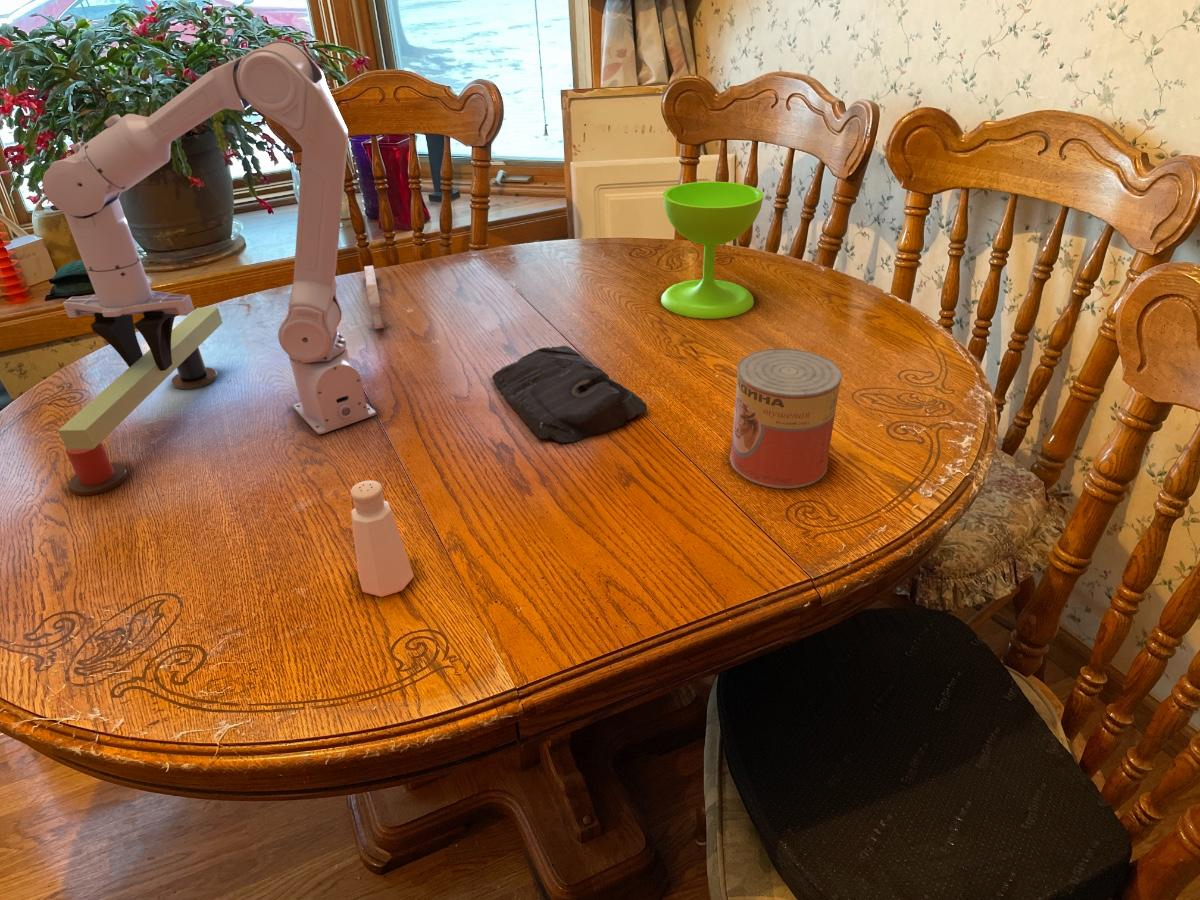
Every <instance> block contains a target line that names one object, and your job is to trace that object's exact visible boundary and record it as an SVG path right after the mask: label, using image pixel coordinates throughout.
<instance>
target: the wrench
mask: <svg viewBox="0 0 1200 900" xmlns="http://www.w3.org/2000/svg"><path fill="white" fill-rule="evenodd" d="M363 268H364V276H365V289H366V293H367V294H366V295H367V300H368V306H369V309H370V313H371V318H372V323H373V328H374V330H377V329H384V328H386V327H385V321H384V316H383V312H382V302H381V299H380V294H379V289H378V284H377V279H376V274H375V269H374V268H375V267H374V265H365V266H363Z"/></svg>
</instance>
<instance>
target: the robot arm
mask: <svg viewBox="0 0 1200 900" xmlns="http://www.w3.org/2000/svg"><path fill="white" fill-rule="evenodd" d="M250 107H252V108H253V109H255V110H256V111H258V112H259V113H260V114H262V115H264V116H265V117H267V118H269V119H270V120H272V121H273V122H275V123H277V124H278V125H280V126H282V128H283V129H284V130H285V131H286V132H287V133H288V134H289V135H290V136H291V137H292V138H293V139H294V140H295V142H296V143H297V144H298V145H299V146H300V147H301V161H300V162H301V164H300V179H299V192H298V208H297V209H298V210H297V223H296V235H295V237H296V238H295V251H294V252H295V254H294V268H293V280H292V281H293V282H292V285H291V292H290V295H289V301H288V310H287V315H286V317H285V319H284V320H283V321H282V323H281V324H280V326H279V328H278V331H277V333H278V334H277V338H278V343H279V345H280V347H281V349H282V350H283V351H284V352H285V353H286V354H287V356H288V359H289V362H290V366H291V370H292V374H293V377H294V382H295V385H296V389H297V392H298V396H299V399H300V402H297V403H294V404H293V405H292V408H293V410H295V412H296V413H297V414H298V415H299V416H300V417H301V418H302V419H303V420H304V421H305V422H306V423H307V424H308V426H310V428H311V429H312V430H313V431H314V432H315V433H316V434H317V435H323V434H326V433H328V432H331V431H334V430H337V429H340V428H343V427H346V426H348V425H351V424H354V423H357V422H360V421H363V420H366V419H368V418H371V417H374V416H375V415H376V414H377V413H376V410H375V409H373V408H372V407H371V406H370V404H368V403H367V400H366V396H365V391H364V387H363V382H362V378H361V375H360V373H359V372H358V370H357V369H356V368H355V367H354V366H353V365H352V363H351V360H350V355H349V350H348V346H347V342H346V339H345V338H344V336H343V335H342V334H341V333H340V331H339V330H338V327H339V325H340V322H341V321H342V317H343V316H342V315H343V313H342V308H341V305H340V303H339V300H338V298H337V287H338V284H337V281H336V275H337V263H338V251H339V241H340V231H341V230H340V229H341V222H342V210H343V200H344V190H345V189H344V188H345V179H346V167H347V158H348V157H347V156H348V148H349V147H348V146H349V131H348V128H347V125H346V124H345V121H344V119H343V117H342V115H341V112H340V111H339V108H338V106H337V104H336V102H335V100H334V97H333V96H332V94H331V91H330V89H329V86H328V84H327V80H326V77H325V74H324V71H323V70H322V68H320V67H319V66H318V64H317V63H316V62H315V61H314V60H313V59H312V58H311V56H309V55H308V53H306V51H305V50H304V49H302V48H301V47H300V46H299V45H297V44H295V43H293V42H291V41H289V40H280V39H278V40H273V41H270V42H268V43H266V44H264V45H263V46H262V47H259V48H256V49H255V48H254V49H252V50H251V51H248V52H247V53H246V54H244V55H242V56H239V57H236V58H235V59H232V60H230V61H228V62H225V63H224V64H221V65H219V66H216V67H215V68H212V69H210V70H209V71H207V72H205V74H203V75H202V76H201V77H199V78H198V79H196V80H195V81H194V82H192V84H190V85H189V86H188V87H185V89H184V90H182V91H181V92H180V93H178V94H177V95H176V96H175V97H173V98H172V99H170V100H169V101H168V102H166V103H165V104H164V105H162V106H161V107H160V108H159V109H157V110H156V111H154V113H152V114H151V115H150V116H145V115H144V116H143V115H139V114H135V113H126V114H125V115H124V116H120V114H117V113H116V114H114V115H111V116H110V117H109V118H107V119H106V120H105V121H104V122H103V123H104V124H105V126H106V127H107V128H105V129H104V130H102V131H101V132H99V133H98V134H96V135H95V136H94V137H92V138H91V139H90V140H88V141H87V142H85V141H83V140H80V141H78V142H76V143H74V144H73V145H72V146H71V149H72V151H73V152H74V153H73V154H71V155H69V156H67V157H65V158H63V159H58V160H55V161H53V162H51V164H50V166H49V167H48V169H47V170H46V171H45V172H44V174H43V177H42V190H43V192H44V194H45V196H46V198H47V199H48V201H49V202H50V203H51V205H53V206H54V207H55V208H56V209H58V211H61V212H62V213H63V214H64V217H65V219H66V222H67V224H68V225H67V226H68V227H69V230H70V232H71V235H72V238H73V240H74V243H75V245H76V248H77V251H78V254H79V256H80V258H81V260H82V263H83V266H84V268H85V270H86V274H87V275H88V276H87V277H88V278H89V280H90V283H91V286H92V288H93V291H94V293H95V294H91V295H82V296H80V295H79V296H71V297H69V298H68V299H66V300H65V301H63V302H62V305H63V308H64V310H65V313H66V315H67V317H68V318H69V319H74V318H78V317H80V316H94V321H93V322H92V323H91V324H90V327H91V329H92V331H93V332H94V333H96V334H97V335H98V336H99V337H100V338H102V339H103V340H104V341H106V342H107V343H108V344H109V345H110V346H111V347H112V348H113V349H114V350H115V351H116V352H117V354H118V355H119V356H120V358H122V360H123V361H124V362H125V363H126V365H127V367H128V368H130V367H131V366H132V365H133V364H134V363H135V362H136V361H137V360H139V359H140V358H141V357H142V356H143V355H144V354H143V351H142V348H141V346H140V344H139V341H138V338H137V333H136V329H137V331H138V332H139V333H140V335H141V336H142V337H143V339H144V341H145V342H146V344H147V346H148V348H149V350H151V352H152V355H153V358H154V360H155V363H156V365H157V366H158V368H159V370H160V371H165V370H167V369H168V368H169V367H170V366H171V365H172V356H171V334H172V330H173V328H174V327H173V326H174V321H175V318H176V316H177V314H178V315H179V316H180V317H183V316H184V317H187V316H189V315H190V314H191V313H192V312H193V311H194V310H195V306H194V303H193V300H192V298H191V295H190V294H177V293H170V292H164V291H157V290H152V289H151V285H150V283H149V280H148V276H147V273H146V271H145V268H144V266H143V263H142V260H141V257H140V254H139V252H138V249H137V247H136V243H135V241H134V240H135V239H134V237H133V233H132V232H131V229H130V226H129V224H128V220H127V219H126V215H125V212H124V210H123V207H122V204H121V201H120V196H121V195H122V193H124V192H126V191H128V190H130V189H131V188H133V187H134V186H136V185H137V184H139V182H140V183H141V181H143V180H144V179H146V178H147V177H148V176H150V175H151V174H153V173H154V172H156V171H157V170H159V169H160V168H162V167H163V166H164V165H167V163H169V162H170V160H171V149H172V147H171V146H172V142H174V141H175V140H177V139H178V138H180V137H181V136H183V135H184V134H186V133H188V132H189V131H191V130H192V129H194V128H196V126H198V125H200V124H201V123H203V122H205V121H207V120H208V119H209V118H211V117H212V116H214V115H215V114H217V113H219V112H220V111H221V110H235V111H242V112H243V111H246V110H248V109H249V108H250ZM134 315H143V317H141V318H140V319H139V320H137V321H136V322H135V323H134Z"/></svg>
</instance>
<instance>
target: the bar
mask: <svg viewBox="0 0 1200 900" xmlns="http://www.w3.org/2000/svg"><path fill="white" fill-rule="evenodd" d="M222 324H223V320H222V317H221V312H220V309H219V307H218V306H217V307H216V306H211V307H210V306H209V307H206V306H205V307H196V308H194V310H193V311H192V312H191V313H189V314H188V315H187V316H185V318H184V319H183V320H182V321H180V322H179V323H178V324H177V325H176V326H175V327H173V328H172V334H171V356H172V365H171V366H170V367H169V368H168V369H167V370H165V371H160V370H159V368H158V366H157V365H156V363H155V360H154V358H153V355H152V352H151V350H150V349H148V350H147V351H146V352H145V353H144V354H143V356H142V357H141V358H140V359H139V360H137V361H136V362H135V363H134V364H133V365H132V366H131V367H130V368H129V367H128V368H127V369H126V370H125V371H124V372H122V373H121V374H120V375H119V376H118V377H117V378H115V379H114V380H113V381H112V382H111V383H110V384H109V385H108V386H106V388H104V389H103V390H102V391H101V392H100V393H99V394H98V395H96V396H95V397H94V398H93V399H92V400H91V401H90V402H88V403H87V404H86V405H85V406H84V407H82V409H80V410H79V411H78V412H77V413H76V414H75V415H74V416H72V417H71V418H70V419H69V420H68V421H67V422H65V424H63V425H62V426H61V427H60V428H59V429H58V430H57V431H58V434H59V436H60V437H61V440H62V442H63V444H64V447H65V449H66V448H67V449H68V450H69V449H94V448H95V447H96V446H97V445H98V444H99V443H100V442H103V441H104V440H105V439H106V438H107V437H108V436H109V435H110V434H111V433H112V432H113V431H114V430H115V429H117V427H118V426H119V425H120V424H121V423H122V422H123V421H124V420H125V419H126V418H127V417H128V416H129V415H130V414H131V413H133V411H134V410H135V409H137V408H138V407H139V405H141V403H143V402H144V401H145V400H146V399H147V398H148V397H149V396H150V395H151V394H152V393H153V392H154V391H155V390H156V389H157V388H158V387H159V386H160V385H161V384H162V383H163V382H164V381H165V380H166V379H167V378H168V377H169V376H170V375H171V374H172V373H173V372H174V371H176V370H177V367H178V366H179V365H180V364H181V363H182V362H183V361H184V360H185V359H186V358H187V357H188V356H189V355H190V354H191V353H192V352H193V351H195V350H196V349H197V348H198V347H199V348H200V346H201V345H202V344H203V343H204V342H206V340H207V339H208V338H209V337H210V336H211V335H212V334H213V333H214V332H216V330H217V329H219V327H220V326H221V325H222Z"/></svg>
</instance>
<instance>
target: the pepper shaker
mask: <svg viewBox="0 0 1200 900" xmlns="http://www.w3.org/2000/svg"><path fill="white" fill-rule="evenodd" d="M350 497H351V498H352V502H353V506H354V508H352V509H351V511H350V515H351V516H350V517H351V518H350V519H351V526H352V534H353V542H354V551H355V559H356V565H357V566H356V567H357V575H358V580H359V584H360V588H361V592H362V593H365V594H369V595H372V596H376V597H378V598H379V597H380V598H383V597H386V596H389V595H392V594H396V593H399V592H402V591H403V590H404V589H405V588H406V586H408V584H409V583H410V582H411V581H412V580H413V579H414V578H415V577H414V576H415V575H414V571H413V569H412V566H411V563H410V560H409V557H408V554H407V551H406V548H405V546H404V543H403V540H402V537H401V534H400V531H399V528H398V525H397V522H396V520H395V517H394V513H393V511H392V508H391V505H390V503H389V501H387V500H384V494H383V485H382V484H381V483H380V482H379V481H376V480H370V479H369V480H362V481H360V482H358V483H356V484H354V485H353V486H352V488H351V489H350Z"/></svg>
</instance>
